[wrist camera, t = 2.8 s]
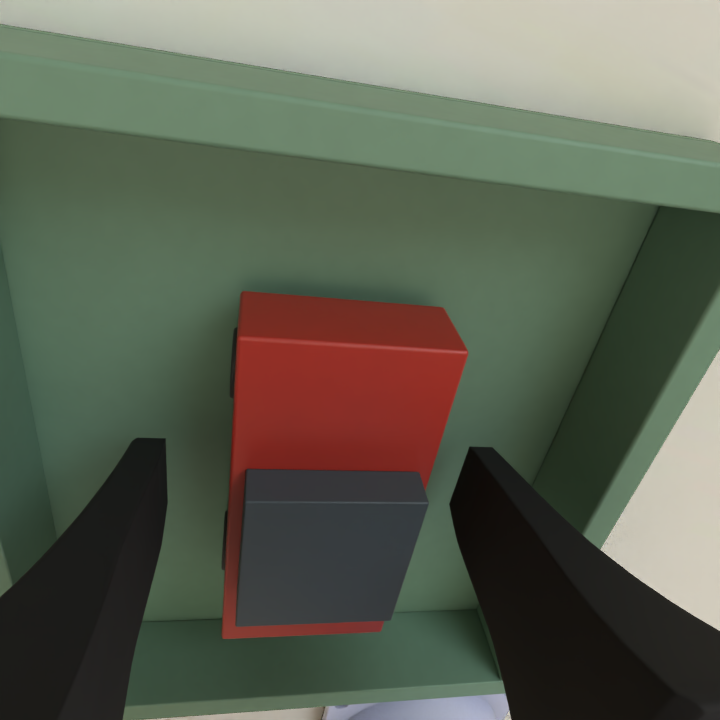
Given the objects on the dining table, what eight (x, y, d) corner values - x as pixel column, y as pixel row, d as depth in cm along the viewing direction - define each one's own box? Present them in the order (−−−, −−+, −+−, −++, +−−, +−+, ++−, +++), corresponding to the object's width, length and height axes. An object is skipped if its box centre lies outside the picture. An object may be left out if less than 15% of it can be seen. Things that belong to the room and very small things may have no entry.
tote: (487, 613, 20) (515, 693, 18) (51, 630, 17) (18, 729, 15) (712, 140, 12) (824, 179, 9) (-91, 8, 9) (-221, 16, 6)
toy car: (370, 555, 17) (391, 666, 14) (222, 557, 16) (214, 677, 13) (440, 291, 12) (492, 381, 10) (237, 273, 11) (227, 366, 9)
